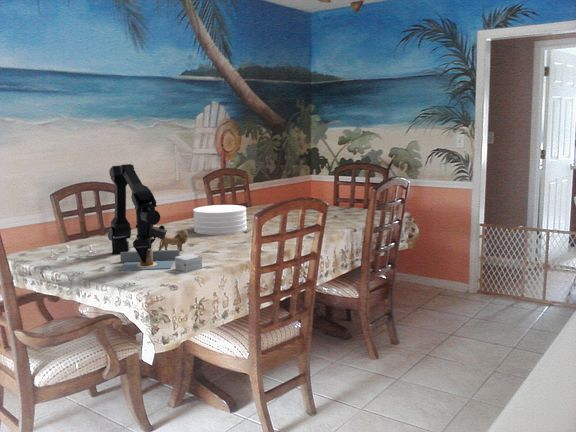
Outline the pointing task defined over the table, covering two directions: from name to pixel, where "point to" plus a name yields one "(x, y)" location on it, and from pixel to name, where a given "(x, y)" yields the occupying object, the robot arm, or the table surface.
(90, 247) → the game piece set
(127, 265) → the mat
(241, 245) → the table surface
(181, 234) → the lion figurine
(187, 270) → the small box
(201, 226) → the plate stack
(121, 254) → the low wall
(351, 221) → the table surface
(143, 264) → the brown rounded cylinder
